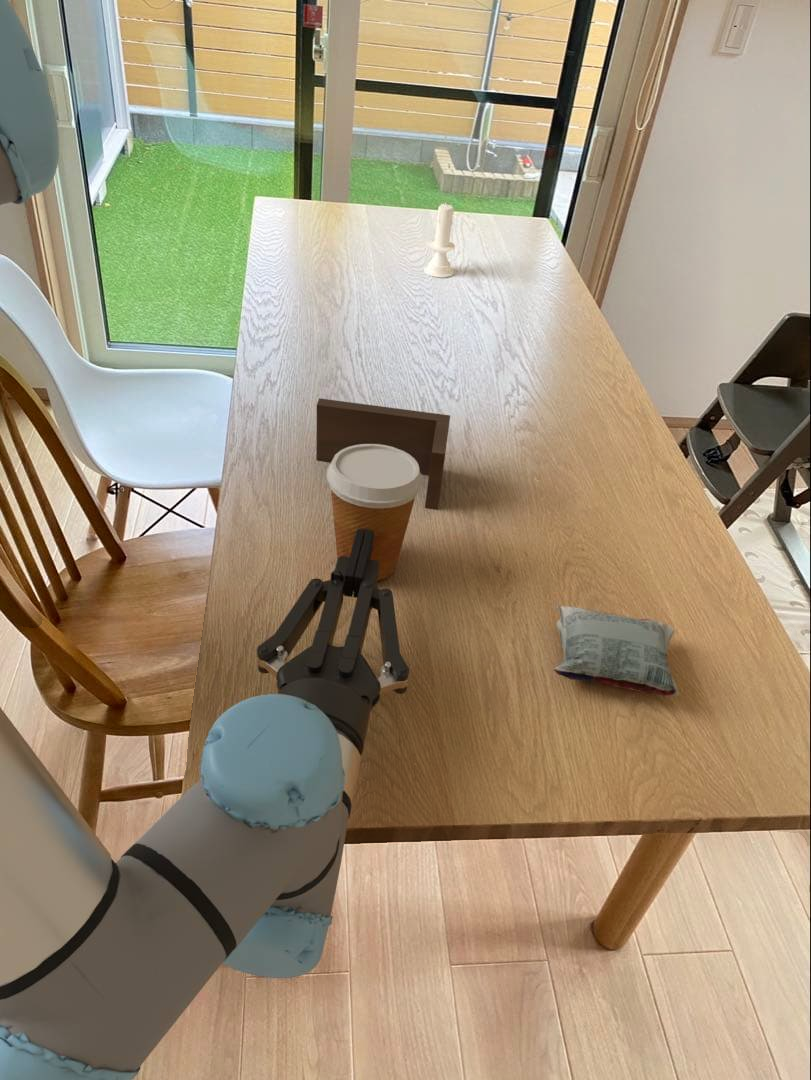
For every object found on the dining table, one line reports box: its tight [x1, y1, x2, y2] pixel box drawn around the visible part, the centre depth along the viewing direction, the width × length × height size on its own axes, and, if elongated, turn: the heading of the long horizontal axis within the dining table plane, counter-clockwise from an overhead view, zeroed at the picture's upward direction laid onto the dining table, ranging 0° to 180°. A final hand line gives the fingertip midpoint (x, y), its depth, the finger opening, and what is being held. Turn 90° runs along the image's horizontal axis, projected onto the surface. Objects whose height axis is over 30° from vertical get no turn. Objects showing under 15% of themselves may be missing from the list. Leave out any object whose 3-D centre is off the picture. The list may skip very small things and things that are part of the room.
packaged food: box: [552, 601, 681, 697], centre depth 74 cm, size 9×12×5 cm
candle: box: [423, 201, 456, 279], centre depth 136 cm, size 5×5×12 cm
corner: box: [315, 397, 451, 510], centre depth 92 cm, size 8×16×8 cm, turn 83°
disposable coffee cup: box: [325, 444, 424, 581], centre depth 80 cm, size 10×10×12 cm
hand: (364, 540), depth 76 cm, fingers closed
